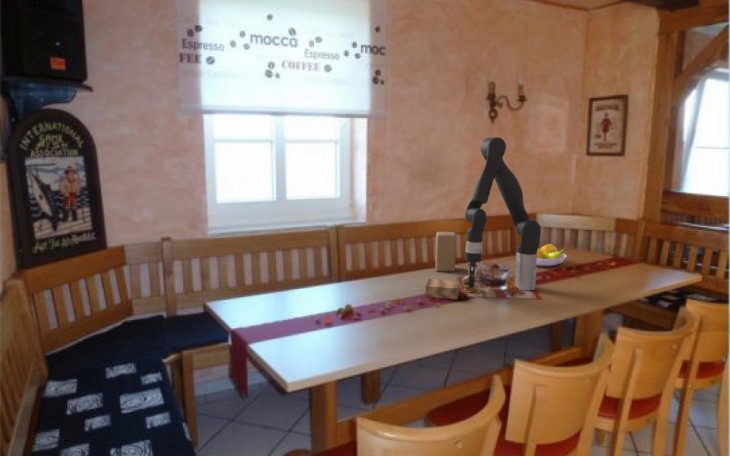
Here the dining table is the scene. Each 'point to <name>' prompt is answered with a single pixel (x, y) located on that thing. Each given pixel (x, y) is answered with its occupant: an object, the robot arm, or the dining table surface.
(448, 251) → the wooden block
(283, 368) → the dining table surface
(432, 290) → the oak step
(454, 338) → the dining table surface
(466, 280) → the chocolate bunny
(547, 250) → the fruit bowl
